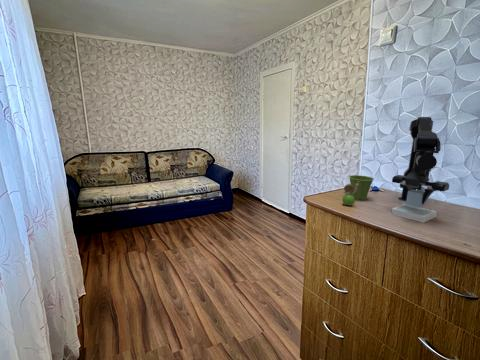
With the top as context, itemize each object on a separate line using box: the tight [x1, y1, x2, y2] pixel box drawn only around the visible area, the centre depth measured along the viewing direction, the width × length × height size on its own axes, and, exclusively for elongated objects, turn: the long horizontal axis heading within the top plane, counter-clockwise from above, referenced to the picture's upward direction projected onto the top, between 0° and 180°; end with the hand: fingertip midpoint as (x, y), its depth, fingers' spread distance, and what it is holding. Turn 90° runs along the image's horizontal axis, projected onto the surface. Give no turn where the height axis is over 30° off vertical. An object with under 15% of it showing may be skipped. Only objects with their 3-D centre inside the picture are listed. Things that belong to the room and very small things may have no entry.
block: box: [405, 189, 426, 208], centre depth 103 cm, size 5×5×6 cm
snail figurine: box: [342, 181, 359, 206], centre depth 116 cm, size 5×6×12 cm
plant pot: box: [348, 174, 375, 201], centre depth 127 cm, size 12×12×11 cm
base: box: [391, 203, 437, 224], centre depth 104 cm, size 12×12×3 cm
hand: (415, 202), depth 103 cm, fingers closed on block, 5 cm apart
